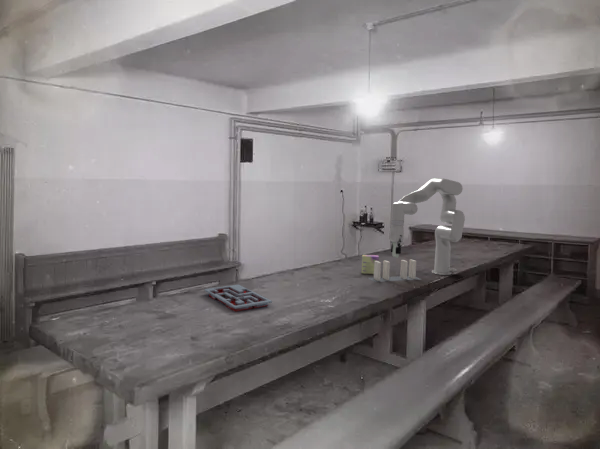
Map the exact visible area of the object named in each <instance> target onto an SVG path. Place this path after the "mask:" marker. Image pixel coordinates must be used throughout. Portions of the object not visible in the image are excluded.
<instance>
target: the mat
mask: <svg viewBox="0 0 600 449" xmlns="http://www.w3.org/2000/svg"><path fill="white" fill-rule="evenodd" d="M367 279H368V280H370V281H372V282H373V283H381V282H382V283H383V282H399V281H400V282H402V281H416V280H418V281H420V280H422V278H419V277H418V276H415V279H412V278H410V277H409V275H407V279H402V278H400V275H397V276H389V280H385V279H383V276H382V277H381V276H380V281H377V280H375V279H374V277H367Z"/></svg>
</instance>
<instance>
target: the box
mask: <svg viewBox="0 0 600 449" xmlns="http://www.w3.org/2000/svg"><path fill="white" fill-rule="evenodd" d="M379 258H380V256H379V255H377V254H376V255H375V254H362V256H361V270H360V271H361V274H370V275H371V274H372V275H374V261H379ZM379 262H380V261H379Z"/></svg>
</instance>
